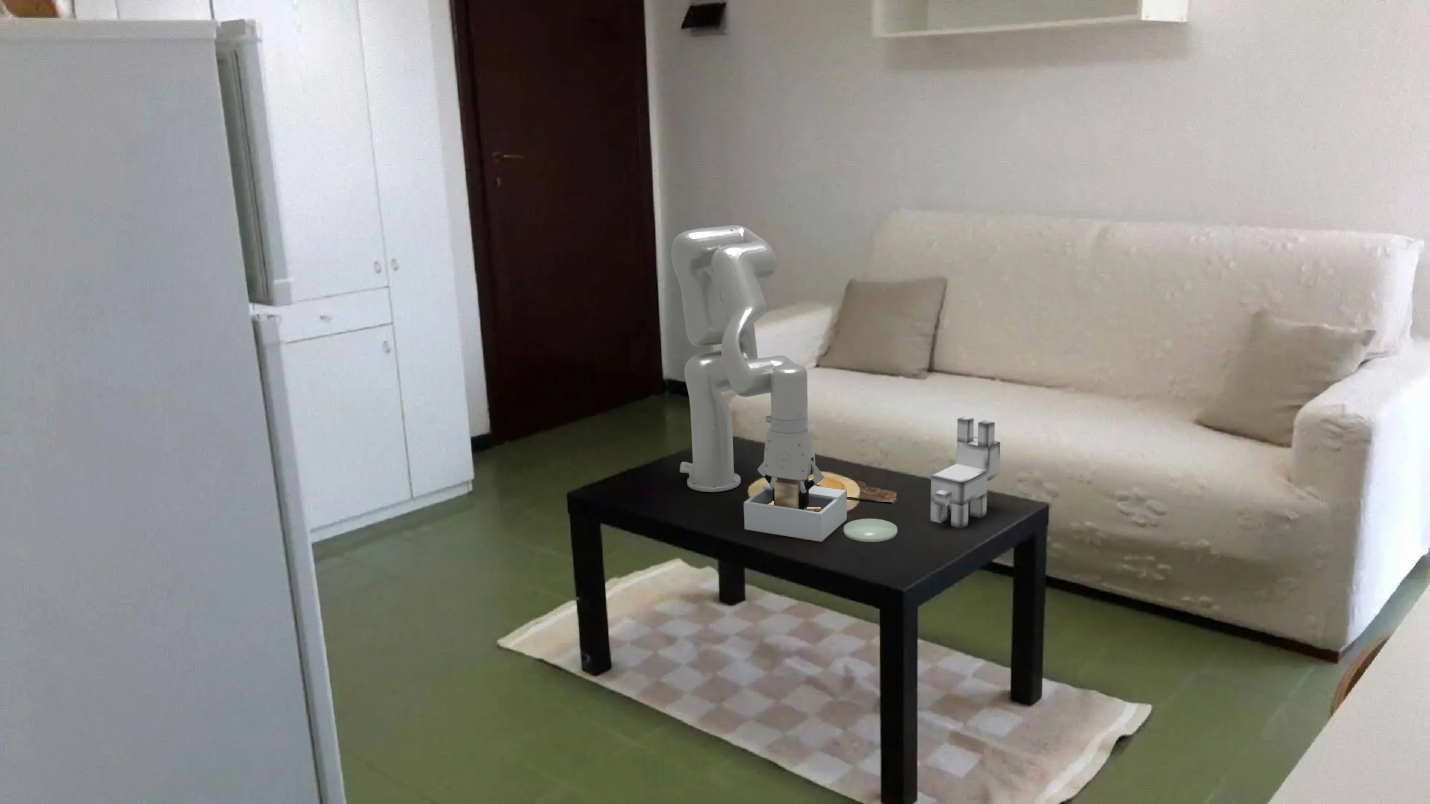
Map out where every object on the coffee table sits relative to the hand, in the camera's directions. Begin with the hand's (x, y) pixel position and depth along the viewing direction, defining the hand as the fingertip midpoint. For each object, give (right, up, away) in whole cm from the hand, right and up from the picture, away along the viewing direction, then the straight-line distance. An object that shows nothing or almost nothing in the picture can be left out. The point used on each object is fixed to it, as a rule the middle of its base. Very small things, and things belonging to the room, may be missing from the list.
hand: (790, 505), depth 241 cm
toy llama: (+37, -3, +4) cm, 37 cm away
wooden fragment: (+15, +1, +22) cm, 27 cm away
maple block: (0, -1, 0) cm, 1 cm away
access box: (+1, -4, +3) cm, 5 cm away
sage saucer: (+16, -5, -3) cm, 17 cm away
